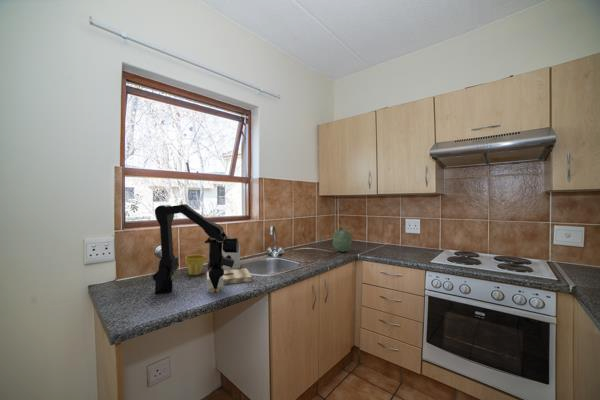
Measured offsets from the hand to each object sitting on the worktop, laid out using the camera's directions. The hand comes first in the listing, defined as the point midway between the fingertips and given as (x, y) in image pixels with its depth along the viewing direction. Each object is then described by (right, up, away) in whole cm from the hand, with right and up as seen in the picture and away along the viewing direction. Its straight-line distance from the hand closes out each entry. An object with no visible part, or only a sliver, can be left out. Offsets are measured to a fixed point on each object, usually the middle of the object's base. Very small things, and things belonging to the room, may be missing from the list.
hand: (214, 285), depth 113 cm
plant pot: (-21, -2, +26) cm, 33 cm away
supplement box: (-4, -3, +37) cm, 38 cm away
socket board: (+1, -3, +18) cm, 18 cm away
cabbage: (+75, -4, +92) cm, 119 cm away
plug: (0, -3, 0) cm, 2 cm away
